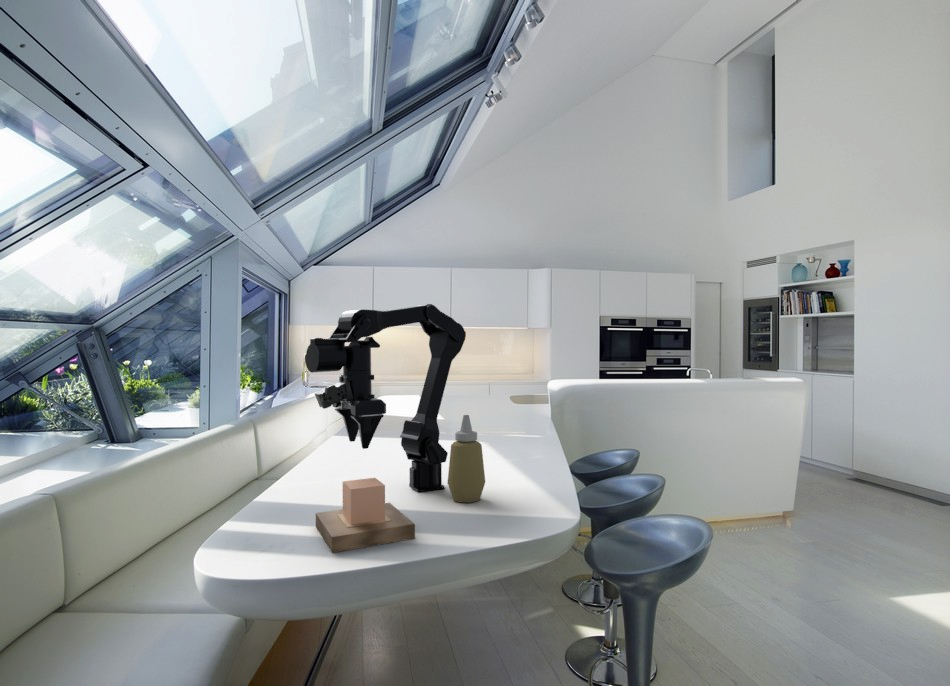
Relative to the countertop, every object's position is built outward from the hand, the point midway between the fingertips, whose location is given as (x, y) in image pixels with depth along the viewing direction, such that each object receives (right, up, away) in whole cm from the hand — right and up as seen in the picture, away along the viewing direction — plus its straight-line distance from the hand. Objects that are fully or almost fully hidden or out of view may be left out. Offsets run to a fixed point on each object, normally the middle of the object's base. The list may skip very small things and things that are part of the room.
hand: (358, 444), depth 114 cm
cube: (+5, -10, -17) cm, 20 cm away
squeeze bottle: (+23, -12, +3) cm, 26 cm away
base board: (+5, -12, -18) cm, 22 cm away
